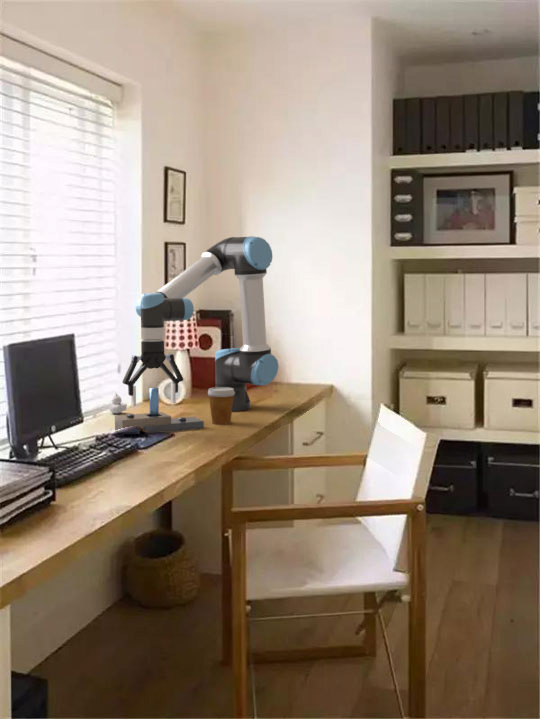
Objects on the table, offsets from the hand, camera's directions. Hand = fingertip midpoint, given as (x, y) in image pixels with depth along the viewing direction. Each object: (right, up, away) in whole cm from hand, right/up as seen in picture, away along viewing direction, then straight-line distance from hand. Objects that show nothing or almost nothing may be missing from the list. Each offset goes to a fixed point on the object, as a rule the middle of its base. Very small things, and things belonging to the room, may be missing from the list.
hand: (153, 404), depth 289 cm
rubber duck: (-17, -5, +32) cm, 37 cm away
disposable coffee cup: (+22, -8, +13) cm, 27 cm away
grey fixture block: (+2, -9, +2) cm, 9 cm away
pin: (0, -9, +1) cm, 9 cm away
